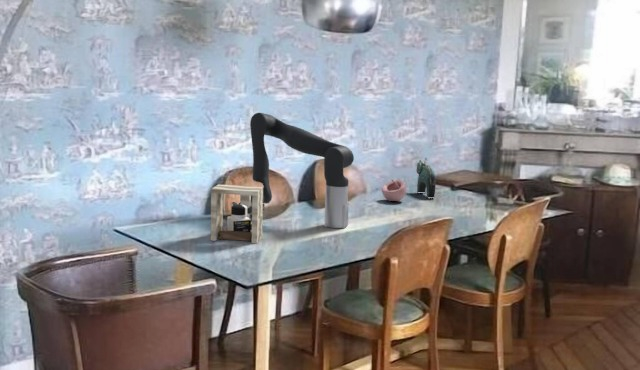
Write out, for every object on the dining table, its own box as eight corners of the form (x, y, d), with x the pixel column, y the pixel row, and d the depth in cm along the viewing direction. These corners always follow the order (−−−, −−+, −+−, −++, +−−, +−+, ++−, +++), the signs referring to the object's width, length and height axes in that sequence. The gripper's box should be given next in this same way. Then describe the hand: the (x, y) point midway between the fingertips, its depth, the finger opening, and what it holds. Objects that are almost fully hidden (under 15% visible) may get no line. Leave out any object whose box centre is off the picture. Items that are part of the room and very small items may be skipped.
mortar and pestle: (376, 200, 347) (377, 178, 345) (392, 198, 355) (393, 176, 353) (394, 205, 338) (395, 181, 336) (410, 202, 346) (411, 179, 344)
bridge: (217, 234, 270) (218, 184, 266) (262, 236, 268) (263, 186, 265) (210, 240, 260) (211, 189, 257) (256, 243, 258) (257, 191, 255)
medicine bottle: (233, 238, 263) (233, 207, 260) (226, 234, 269) (227, 204, 267) (250, 237, 266) (251, 206, 264) (244, 233, 272) (244, 202, 270)
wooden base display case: (231, 227, 280) (231, 190, 278) (260, 229, 279) (261, 192, 277) (219, 238, 262) (219, 199, 259) (250, 240, 261) (251, 201, 258)
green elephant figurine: (414, 192, 374) (416, 155, 370) (425, 192, 375) (427, 155, 372) (426, 199, 355) (428, 160, 351) (438, 199, 356) (440, 160, 352)
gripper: (235, 192, 290) (225, 200, 273) (269, 194, 288) (261, 202, 271) (235, 210, 291) (225, 219, 274) (268, 212, 290) (260, 221, 273)
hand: (243, 210), depth 273 cm, fingers closed on wooden base display case, 3 cm apart
